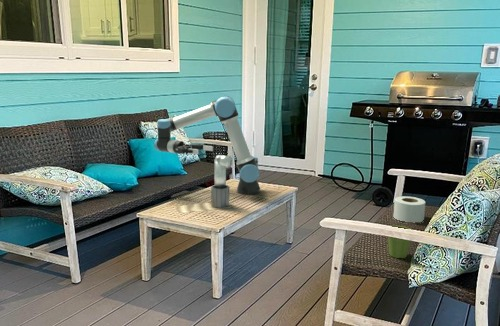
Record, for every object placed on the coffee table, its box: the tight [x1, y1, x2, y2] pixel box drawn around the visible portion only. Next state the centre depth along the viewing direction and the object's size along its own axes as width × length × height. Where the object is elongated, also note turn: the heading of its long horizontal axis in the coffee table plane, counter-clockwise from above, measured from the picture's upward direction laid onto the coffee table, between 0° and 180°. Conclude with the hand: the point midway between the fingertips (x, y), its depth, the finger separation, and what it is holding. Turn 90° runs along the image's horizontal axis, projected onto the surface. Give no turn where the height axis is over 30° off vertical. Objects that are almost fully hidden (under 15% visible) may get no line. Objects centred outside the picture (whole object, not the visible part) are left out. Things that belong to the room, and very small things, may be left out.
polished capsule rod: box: [213, 154, 233, 189], centre depth 245 cm, size 9×6×21 cm
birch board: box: [173, 202, 232, 214], centre depth 246 cm, size 30×13×2 cm, turn 113°
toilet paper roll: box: [392, 195, 427, 223], centre depth 233 cm, size 16×15×11 cm
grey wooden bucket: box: [210, 184, 230, 209], centre depth 248 cm, size 10×10×11 cm
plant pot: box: [387, 225, 413, 259], centre depth 185 cm, size 12×12×11 cm
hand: (205, 150), depth 248 cm, fingers open, 13 cm apart
